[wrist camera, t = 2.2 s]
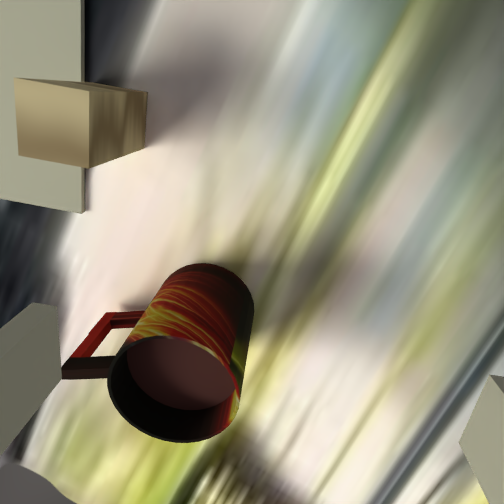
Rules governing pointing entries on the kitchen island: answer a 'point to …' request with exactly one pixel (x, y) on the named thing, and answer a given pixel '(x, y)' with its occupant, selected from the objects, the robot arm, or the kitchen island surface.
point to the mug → (176, 356)
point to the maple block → (78, 121)
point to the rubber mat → (48, 68)
